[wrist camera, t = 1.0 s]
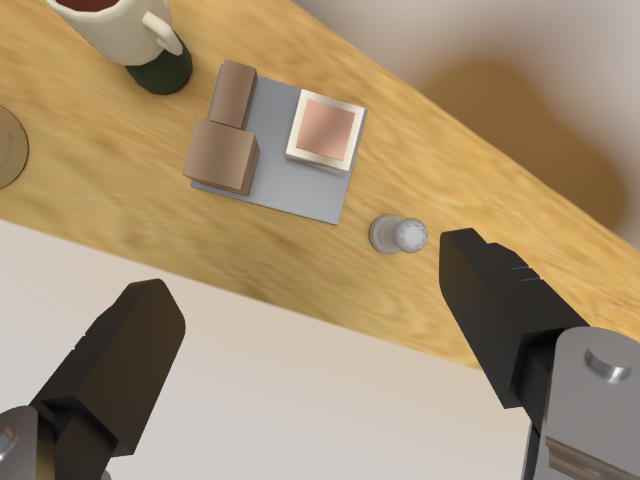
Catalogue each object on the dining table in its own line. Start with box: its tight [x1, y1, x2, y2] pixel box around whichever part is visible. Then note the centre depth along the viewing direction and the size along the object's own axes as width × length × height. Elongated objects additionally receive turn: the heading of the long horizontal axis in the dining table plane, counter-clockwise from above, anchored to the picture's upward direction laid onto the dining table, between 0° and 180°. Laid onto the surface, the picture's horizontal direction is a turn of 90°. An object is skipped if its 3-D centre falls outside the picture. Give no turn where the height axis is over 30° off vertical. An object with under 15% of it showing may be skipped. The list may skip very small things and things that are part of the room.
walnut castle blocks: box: [182, 59, 260, 197], centre depth 30 cm, size 5×12×6 cm, turn 165°
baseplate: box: [191, 64, 368, 225], centre depth 34 cm, size 16×13×1 cm
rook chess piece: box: [370, 215, 428, 254], centre depth 32 cm, size 4×4×8 cm
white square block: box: [286, 89, 365, 176], centre depth 32 cm, size 6×6×3 cm
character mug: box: [44, 0, 192, 94], centre depth 26 cm, size 11×7×13 cm, turn 58°
